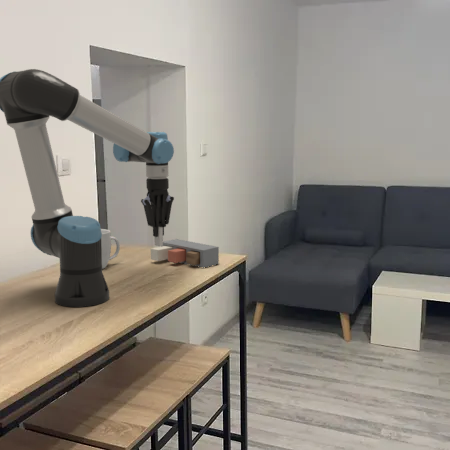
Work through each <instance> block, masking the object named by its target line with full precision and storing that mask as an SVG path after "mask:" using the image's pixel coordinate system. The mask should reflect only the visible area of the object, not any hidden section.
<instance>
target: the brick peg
mask: <svg viewBox="0 0 450 450" xmlns="http://www.w3.org/2000/svg"><path fill="white" fill-rule="evenodd" d="M167 261H168V262H170V263H174V264H178V262H182V261H186V249H183V248H178V249H173V250H168V260H167Z"/></svg>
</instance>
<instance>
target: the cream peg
mask: <svg viewBox="0 0 450 450" xmlns="http://www.w3.org/2000/svg"><path fill="white" fill-rule="evenodd" d="M168 250H173V246H168V245H166V246H156V247H153V248H150V260H151V261H152V260H153V261H157V262H160V261H166V260H165V259H168Z"/></svg>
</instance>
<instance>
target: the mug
mask: <svg viewBox="0 0 450 450" xmlns="http://www.w3.org/2000/svg"><path fill="white" fill-rule="evenodd" d="M101 233H102V237H101V247H102V270H103V269H105V268H106V267H108V266H107V265H108V264H109V261H112V260H113V259H115V258H116V257H117V256H118V255H119V252H120V250H121V249H120V247H121V245H120V242H119V239H117V238H116V237H114V236H111V234H112V233H111V230H110V229H105V228H101ZM112 240H113V241H114V242H115V244H116V249H115V252H114V253H113V254H112V255H111V253H112V251H111V249H112V248H111V247H112Z"/></svg>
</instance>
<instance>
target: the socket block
mask: <svg viewBox="0 0 450 450" xmlns="http://www.w3.org/2000/svg"><path fill="white" fill-rule="evenodd" d="M166 245H168V246H173V249H178V248H183V249H186V252H190V251H198V252H200V264H197V265H194V266H193V267H195V266H199V267H198V268H200V267H203V268H202V269H205V268H204V267H207V268H209V267H208V266H210V267H213V266H212V265H214V266H217V265H216V264H218V265H219V261H220V260H219V258H220V257H219V255H220V254H219V251H220V250H219V249H220V247H219V246H215V245H210V244H206V243H205V244H204V243H199V242H195V241H190V240H189V241H188V240H184V239H180V238H179V239H178V238H174V239H170V240H163V246H166ZM164 261H168V259H165V260H164ZM179 263H180V264H182V263H184V264H183V265H187V264H188V263H187V258H186V261H182V262H179ZM191 265H192V264H190V265H189V266H191Z"/></svg>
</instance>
